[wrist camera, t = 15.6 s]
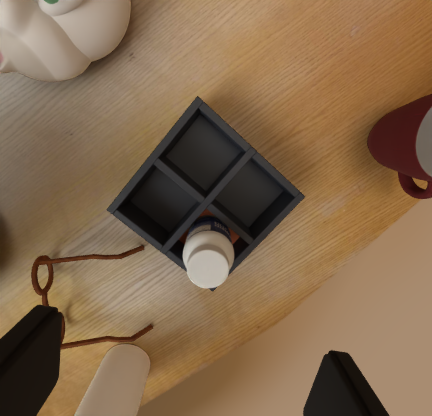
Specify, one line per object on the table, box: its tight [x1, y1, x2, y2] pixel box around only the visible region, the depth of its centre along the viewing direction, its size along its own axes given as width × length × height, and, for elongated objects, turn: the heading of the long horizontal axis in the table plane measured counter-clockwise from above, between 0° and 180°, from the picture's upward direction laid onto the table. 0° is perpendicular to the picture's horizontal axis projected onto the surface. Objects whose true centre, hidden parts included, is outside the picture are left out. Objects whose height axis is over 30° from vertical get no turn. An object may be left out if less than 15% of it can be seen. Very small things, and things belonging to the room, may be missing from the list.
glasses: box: [31, 246, 153, 350], centre depth 33 cm, size 13×13×5 cm
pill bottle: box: [183, 215, 234, 288], centre depth 28 cm, size 5×5×10 cm
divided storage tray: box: [107, 96, 305, 292], centre depth 29 cm, size 15×15×5 cm
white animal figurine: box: [0, 0, 131, 82], centre depth 24 cm, size 10×8×15 cm
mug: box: [367, 94, 432, 199], centre depth 26 cm, size 10×8×10 cm
